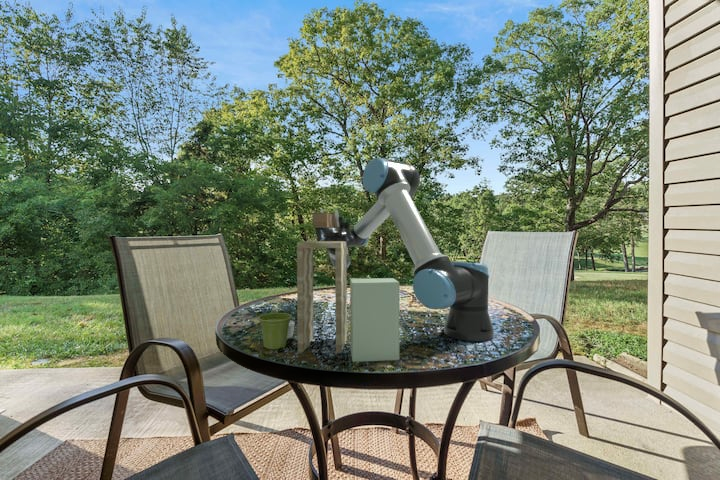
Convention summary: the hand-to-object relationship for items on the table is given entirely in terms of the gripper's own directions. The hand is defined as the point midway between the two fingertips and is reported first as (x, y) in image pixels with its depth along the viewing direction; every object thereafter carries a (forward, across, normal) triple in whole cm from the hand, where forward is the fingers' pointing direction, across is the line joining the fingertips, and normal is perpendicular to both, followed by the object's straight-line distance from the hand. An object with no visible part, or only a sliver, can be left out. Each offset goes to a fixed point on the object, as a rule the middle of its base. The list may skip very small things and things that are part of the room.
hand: (328, 213), depth 113 cm
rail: (+1, 0, -6) cm, 6 cm away
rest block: (-3, -15, -43) cm, 46 cm away
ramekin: (-16, +15, -36) cm, 42 cm away
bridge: (-10, 0, -39) cm, 40 cm away
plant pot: (-8, +14, -41) cm, 44 cm away
